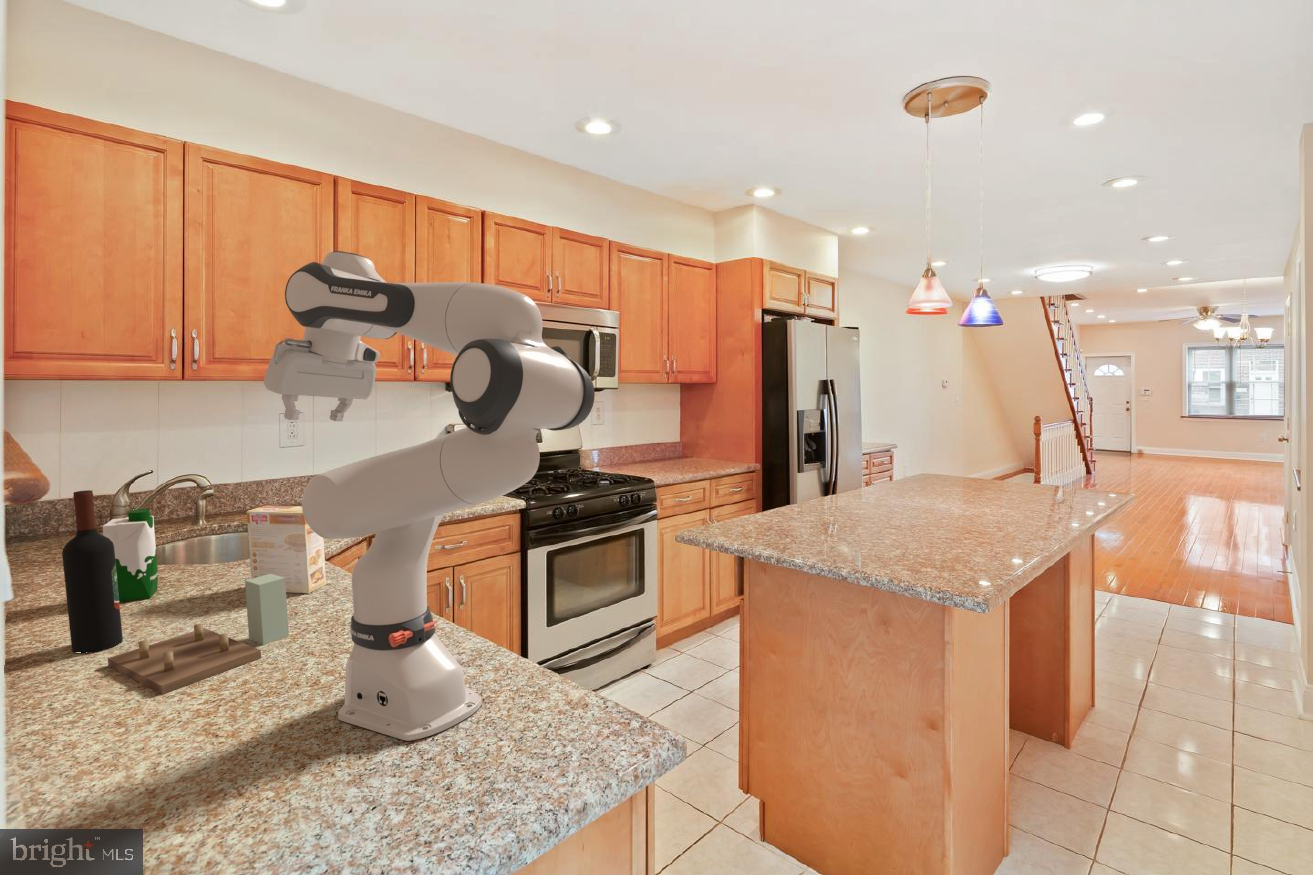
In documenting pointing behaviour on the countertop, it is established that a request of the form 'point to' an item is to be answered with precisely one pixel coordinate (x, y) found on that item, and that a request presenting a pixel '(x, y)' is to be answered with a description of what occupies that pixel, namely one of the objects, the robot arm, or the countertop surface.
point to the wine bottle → (91, 583)
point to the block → (266, 608)
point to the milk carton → (134, 554)
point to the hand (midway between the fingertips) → (314, 420)
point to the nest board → (183, 659)
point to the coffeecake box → (286, 548)
